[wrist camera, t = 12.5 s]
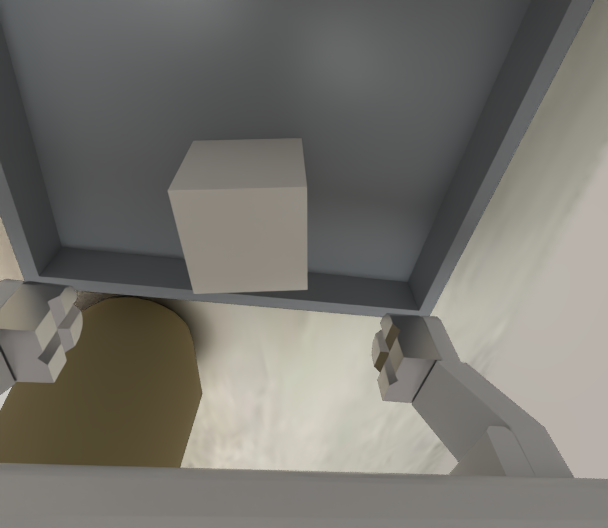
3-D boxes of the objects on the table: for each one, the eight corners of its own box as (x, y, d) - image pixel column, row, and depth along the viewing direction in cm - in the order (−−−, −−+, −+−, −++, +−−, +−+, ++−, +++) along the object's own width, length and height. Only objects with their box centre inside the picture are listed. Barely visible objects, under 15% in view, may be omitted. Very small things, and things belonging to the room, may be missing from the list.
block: (193, 140, 14) (167, 190, 11) (301, 138, 14) (307, 186, 11) (210, 231, 16) (193, 294, 13) (302, 228, 17) (307, 289, 13)
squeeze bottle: (242, 338, 22) (168, 1036, 8) (150, 392, 24) (-32, 976, 10) (123, 249, 18) (-546, 1430, 3) (28, 326, 20) (-557, 1151, 6)
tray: (-104, -317, 8) (-233, -414, 6) (595, -125, 11) (670, -147, 8) (56, 248, 17) (26, 286, 15) (411, 284, 20) (426, 321, 18)
